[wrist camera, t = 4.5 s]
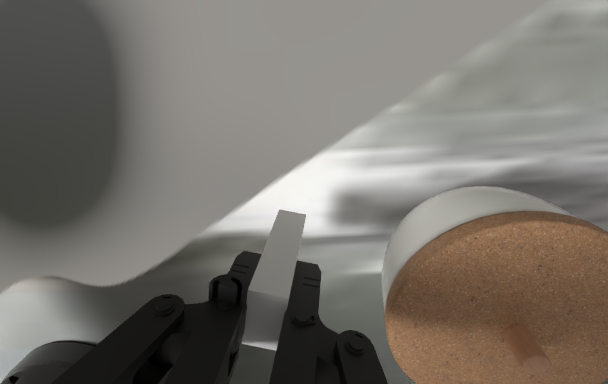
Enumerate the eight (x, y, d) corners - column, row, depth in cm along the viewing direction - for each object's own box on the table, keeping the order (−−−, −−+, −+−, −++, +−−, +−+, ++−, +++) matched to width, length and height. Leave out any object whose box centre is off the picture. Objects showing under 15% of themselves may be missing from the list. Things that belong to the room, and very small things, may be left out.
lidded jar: (487, 123, 17) (635, 181, 9) (571, 251, 20) (749, 394, 11) (337, 224, 21) (339, 338, 12) (425, 323, 23) (477, 475, 15)
